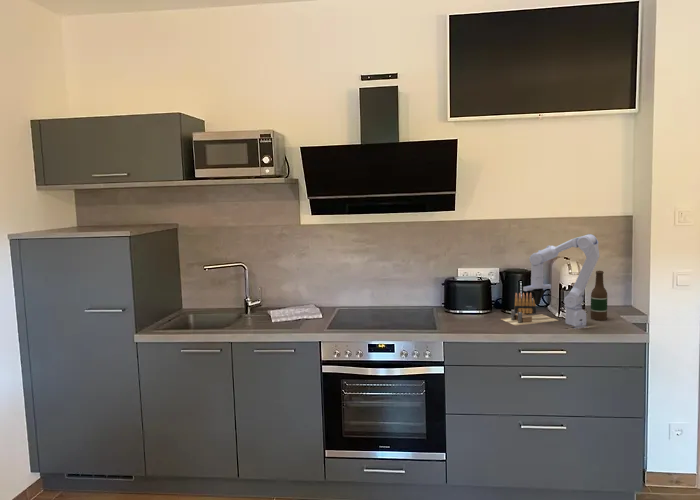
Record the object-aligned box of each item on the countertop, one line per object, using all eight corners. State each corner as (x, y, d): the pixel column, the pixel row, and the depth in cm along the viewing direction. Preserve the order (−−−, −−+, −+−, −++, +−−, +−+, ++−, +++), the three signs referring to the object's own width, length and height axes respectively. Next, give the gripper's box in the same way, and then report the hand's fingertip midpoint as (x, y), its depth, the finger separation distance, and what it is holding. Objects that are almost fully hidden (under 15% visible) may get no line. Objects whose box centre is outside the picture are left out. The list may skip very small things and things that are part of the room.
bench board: (559, 322, 286) (559, 320, 286) (515, 327, 279) (515, 325, 279) (542, 316, 299) (542, 314, 299) (500, 321, 293) (500, 319, 293)
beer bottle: (601, 321, 285) (602, 272, 282) (587, 318, 292) (587, 271, 289) (610, 318, 290) (611, 270, 287) (595, 316, 296) (596, 269, 293)
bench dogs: (522, 325, 284) (522, 312, 283) (519, 325, 283) (519, 313, 283) (513, 321, 291) (513, 309, 291) (510, 321, 291) (510, 309, 290)
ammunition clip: (535, 315, 303) (535, 292, 302) (536, 315, 301) (536, 292, 300) (514, 314, 305) (514, 292, 304) (514, 315, 303) (514, 292, 302)
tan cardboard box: (531, 321, 285) (532, 316, 285) (522, 322, 284) (522, 317, 283) (522, 318, 293) (522, 313, 292) (513, 319, 291) (513, 314, 291)
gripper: (545, 274, 294) (545, 301, 296) (519, 276, 290) (519, 303, 292) (553, 276, 287) (553, 303, 289) (528, 279, 283) (528, 306, 285)
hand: (537, 304), depth 290 cm, fingers closed
